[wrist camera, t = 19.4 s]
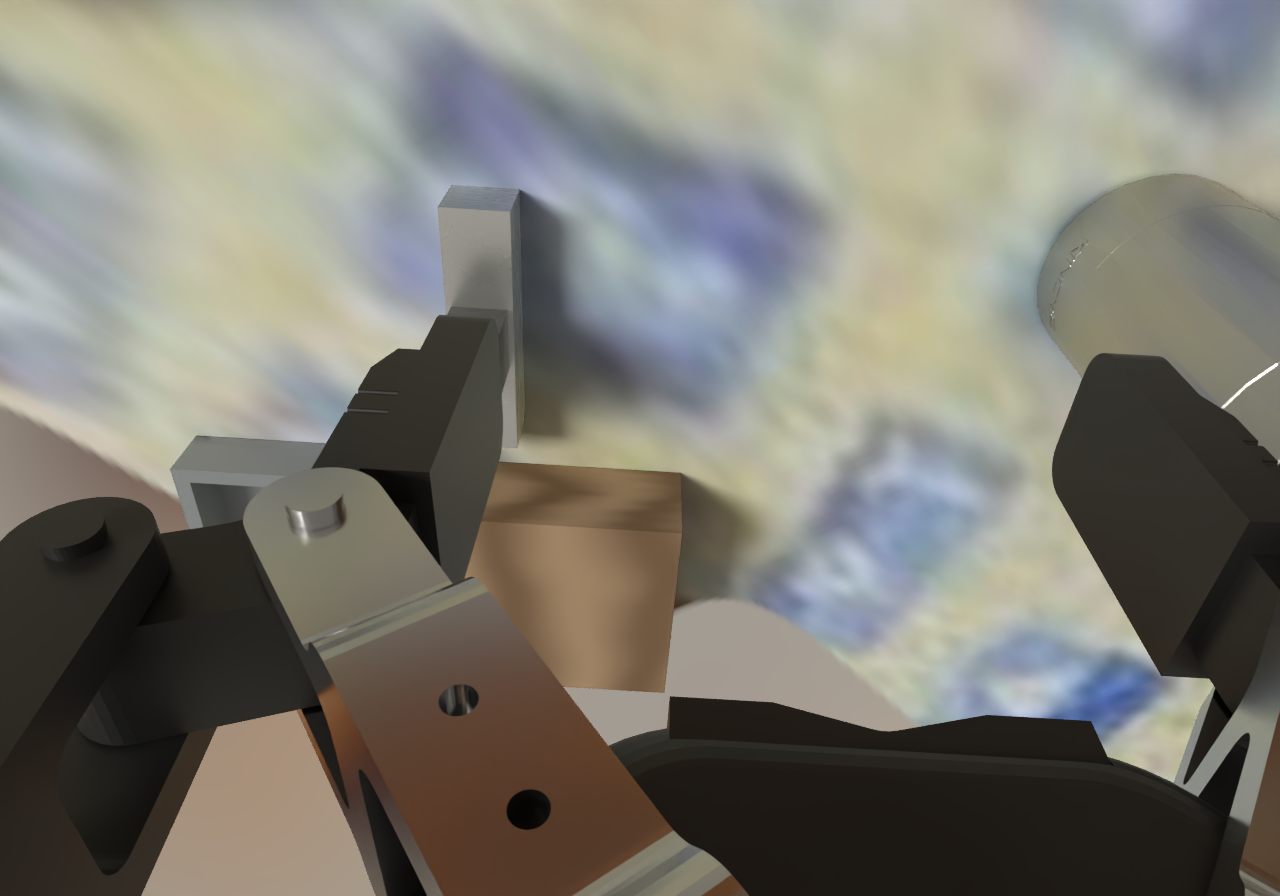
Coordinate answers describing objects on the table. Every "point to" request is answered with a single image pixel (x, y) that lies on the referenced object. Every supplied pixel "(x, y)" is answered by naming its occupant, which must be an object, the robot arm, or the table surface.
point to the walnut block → (585, 568)
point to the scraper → (488, 280)
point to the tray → (233, 474)
